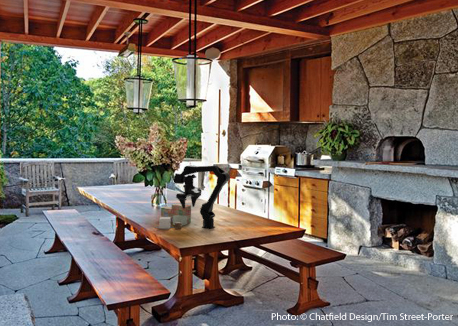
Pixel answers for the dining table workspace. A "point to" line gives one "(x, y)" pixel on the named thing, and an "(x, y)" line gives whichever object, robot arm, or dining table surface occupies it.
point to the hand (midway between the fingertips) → (188, 207)
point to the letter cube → (177, 225)
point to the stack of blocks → (176, 211)
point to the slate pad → (164, 228)
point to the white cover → (165, 222)
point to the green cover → (180, 219)
